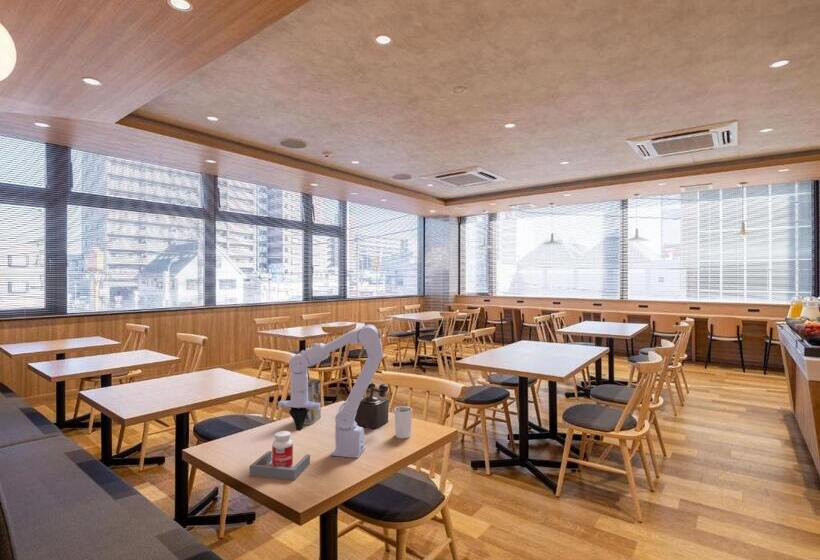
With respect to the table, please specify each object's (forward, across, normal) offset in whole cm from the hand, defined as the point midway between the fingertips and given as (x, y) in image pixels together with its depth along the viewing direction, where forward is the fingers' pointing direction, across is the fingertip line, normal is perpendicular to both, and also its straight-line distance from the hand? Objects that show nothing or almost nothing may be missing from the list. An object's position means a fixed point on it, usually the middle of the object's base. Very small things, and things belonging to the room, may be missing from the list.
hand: (299, 429), depth 148 cm
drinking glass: (+8, -31, -22) cm, 39 cm away
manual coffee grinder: (+8, -18, -31) cm, 37 cm away
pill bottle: (+8, 0, +12) cm, 15 cm away
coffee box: (+8, +10, -30) cm, 33 cm away
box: (+8, 0, +13) cm, 15 cm away
